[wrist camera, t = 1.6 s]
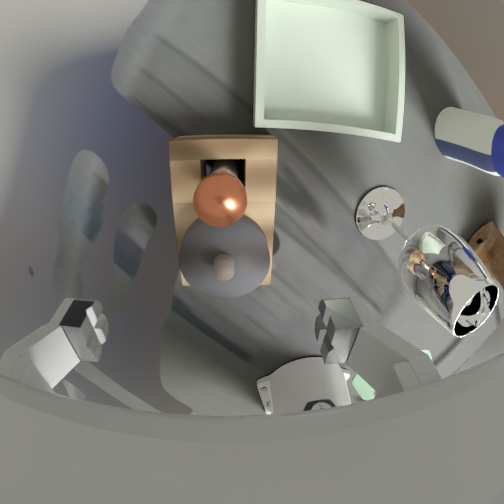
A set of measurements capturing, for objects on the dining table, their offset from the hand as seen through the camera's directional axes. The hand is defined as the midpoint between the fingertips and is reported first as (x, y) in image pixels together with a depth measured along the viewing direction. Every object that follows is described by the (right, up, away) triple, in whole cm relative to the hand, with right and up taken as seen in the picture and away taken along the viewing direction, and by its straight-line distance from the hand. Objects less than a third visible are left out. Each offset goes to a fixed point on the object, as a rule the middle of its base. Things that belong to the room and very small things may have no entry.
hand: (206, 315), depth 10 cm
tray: (+10, +23, +15) cm, 29 cm away
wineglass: (+18, +7, +24) cm, 31 cm away
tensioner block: (-1, +8, +22) cm, 24 cm away
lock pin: (-1, +11, +20) cm, 23 cm away
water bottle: (+30, +19, +18) cm, 40 cm away
